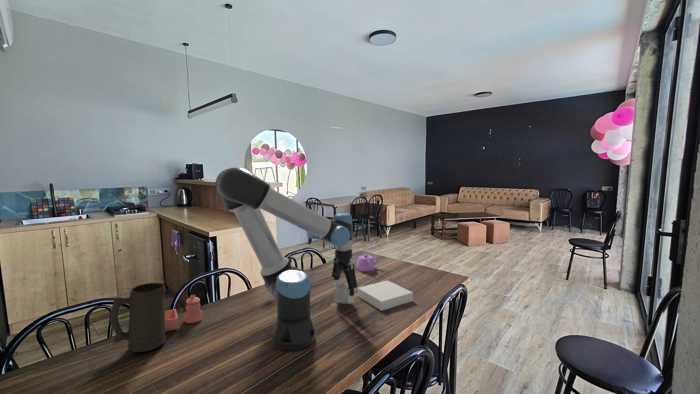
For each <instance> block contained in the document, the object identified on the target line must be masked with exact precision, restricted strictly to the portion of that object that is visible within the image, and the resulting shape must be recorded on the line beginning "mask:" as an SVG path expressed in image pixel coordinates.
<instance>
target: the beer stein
mask: <svg viewBox="0 0 700 394" xmlns="http://www.w3.org/2000/svg"><path fill="white" fill-rule="evenodd" d="M165 295H166V286H165V284H164V283H162V282H149V283H143V284H138V285H137V286H134V287H132V288H131V290H130V293H129V297H121V296H116V297H114V298H113V304H112V307H111V309H110V311H109V316H108V318H109V323H110V325H111V328H112V329H113V331H114V333H115V336H114V338H113V342H114V344H117V343H118V342H121V341H127V342H128V343H127V350H128V351H131V352H135V353H139V352H140V353H141V352H147V351H151V350H155V349H157V348H158V347H161V346H162V345H164V343H165V342H166V340H167V339H166V338H167V337H166V333H167V332H166V329H165V311H166V310H165V308H166V307H165ZM123 305H129V313H128V314H129V317H128V318H129V319H128V329H127V330H128V331H127V332H124V331H123V329H122V327H121V324H120V321H119V310H120V307H121V306H123Z"/></svg>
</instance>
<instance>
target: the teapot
mask: <svg viewBox="0 0 700 394" xmlns="http://www.w3.org/2000/svg"><path fill="white" fill-rule="evenodd" d="M380 256H381V254H377V255H376V256H375V259H374V258H373V256H371V255H369V254H367V253H364V254H363V255H359V256H358V258H357V260H356V268H357V270H358V271H359V272H363V273H368V272H374V271H375V269H376V265H377V264H378V260H379V257H380Z"/></svg>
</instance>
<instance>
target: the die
mask: <svg viewBox="0 0 700 394" xmlns="http://www.w3.org/2000/svg"><path fill="white" fill-rule="evenodd" d="M347 288H348V283H346V282H342V283H341V284H340V285H338V286H337V287H335V286H334V288H333V290H334V292H333V294H334V297H333V298H334V301H336V302H338V303H339V304H343V305H346V304H348V297H347Z"/></svg>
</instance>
